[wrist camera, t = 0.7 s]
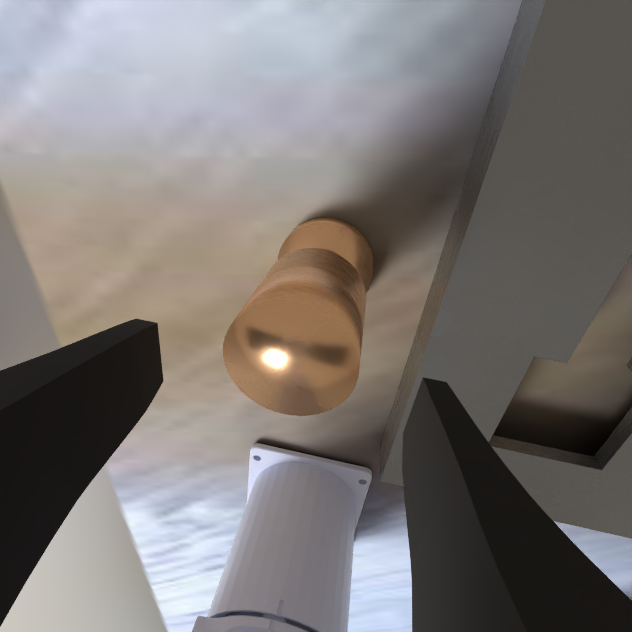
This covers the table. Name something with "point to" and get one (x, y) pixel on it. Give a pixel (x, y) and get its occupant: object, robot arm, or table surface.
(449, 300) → the keyhole bracket
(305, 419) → the table surface
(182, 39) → the table surface
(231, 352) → the copper peg
